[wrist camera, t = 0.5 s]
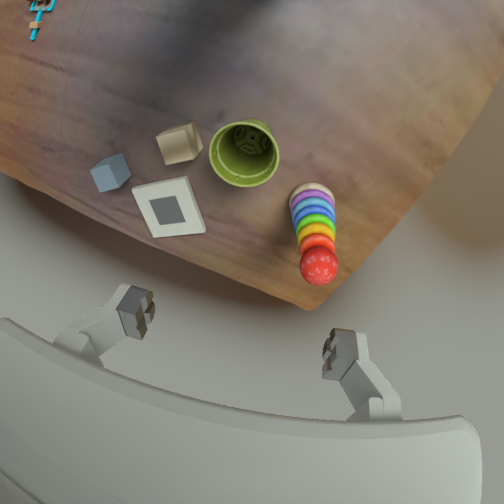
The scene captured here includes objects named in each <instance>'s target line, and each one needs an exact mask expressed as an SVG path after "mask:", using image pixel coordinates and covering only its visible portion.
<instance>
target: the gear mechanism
mask: <svg viewBox="0 0 504 504" xmlns="http://www.w3.org/2000/svg"><path fill="white" fill-rule="evenodd" d="M27 1H32V0H27ZM36 1H37V2H36ZM40 1H41V0H33V2H32V5H31V11H38V13H37V17H36V20H35V21H34V22H30V26H29V28H33V31H32V35H31V39H32V40H34V39H35V38H36V34H37V31H38V28H41V25H42V22H40V20H41V17H42V14H43V11H52V10H53V9H54V6H55V4H56V1H57V0H51V3H50V4H49V5H47V4H46V3H47V1H48V0H43V4H41V5H39V2H40ZM35 4H36V5H35Z"/></svg>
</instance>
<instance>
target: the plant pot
mask: <svg viewBox="0 0 504 504" xmlns="http://www.w3.org/2000/svg"><path fill="white" fill-rule="evenodd" d="M239 129H241V131H240V133H239V136H237V132H238V130H239ZM251 136H254V139H252V138H251ZM267 138H268V139H269V140H268V144H267V145H265V143H266V140H267ZM245 148H248V149H250V150H253V151H247V150H245ZM209 159H210V163H211V165H212V167H213V169H214V171H215V172H216V173H217V175H218V176H219V177H220V178H222V179H223V180H224V181H226V182H228V183H229V184H232V185H235V186H239V187H253V186H257V185H260V184H262V183H264V182H266V181H267V180H268V179H270V178H271V177H272V175H273V174H274V173H275V171H276V169H277V167H278V163H279V150H278V146H277V144H276V142H275V140H274V138H273V137H272V133H271V131H270V129H269V127H268V126H267V125H266V124H265V123H264V122H262V121H260V120H257V119H247V120H244V121H242V122H234V123H230V124H228V125H226V126H224V127H222V128H221V129H220V130H218V131H217V132H216V134H215V135H214V136H213V138H212V140H211V143H210V146H209Z"/></svg>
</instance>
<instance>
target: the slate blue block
mask: <svg viewBox="0 0 504 504" xmlns="http://www.w3.org/2000/svg"><path fill="white" fill-rule="evenodd" d="M90 172H91V174H92V176H93V179H94V181H95V183H96V185H97V187H98V189H99V191H100V193H101V192H104V191H108V190H112V189H116V188H119V187H120V186H121V185H122V184H123V183H124V182H125V181H126V180H127V179H128V178H129V177H130V176H131V173H130V171H129V168H128V166H127V163H126V161H125V158H124V156H123V153H120V154H117V155H114V156H111V157H108V158H105V159H103V160H102V161H100V162H99V163H98V164H97V165H95V166H94V167H93V168H92V169H91V170H90Z"/></svg>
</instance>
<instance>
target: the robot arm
mask: <svg viewBox="0 0 504 504" xmlns="http://www.w3.org/2000/svg"><path fill="white" fill-rule="evenodd" d="M152 298H153V292H152V291H149V290H146V289H143V288H139V287H136V286H133V285H128V284H125V283H122V284H121V285H120V286H119V287H118V289H117V290H116V292H115V293H114V294H113V296H112V297H111V299H110V300H109V302H108V303H107V305H106V306H101V307H99V308H97V309H95V310H93V311H91V312H89V313H87V314H85V315H83V316H81V317H80V318H78V319H76V320H74V321H72V322H70V323H68V324H66V325H65V326H64V327H63V329H62V330H61V332H60V333H59V334H58V336H57V337H56V339H55V341H54V342H53V344H52V343H50V342H48V341H46V340H44V339H43V338H41V337H39V336H37V335H35V334H34V333H32V332H30V331H28V330H27V329H25V328H24V327H22V326H20V325H19V324H17V323H15V322H14V321H12V320H11V319H9V318H6V317H4V318H0V504H480V502H481V490H482V456H481V444H480V439H479V435H478V433H477V432H476V430H475V429H474V428H473V426H472V425H471V424H470V423H469V421H468V420H467V419H466V418H465V417H464V416H462V415H454V416H447V417H440V418H430V419H419V420H405V421H403V420H402V410H401V402H400V397H399V395H398V394H397V393H396V391H395V390H394V389H393V388H392V386H391V385H390V384H389V382H388V381H387V380H386V378H385V377H384V376H383V375H382V373H381V372H380V371H379V369H378V368H377V367H376V366H375V364H374V363H373V362H370V360H369V353H368V345H367V339H366V334H365V332H361V331H353V330H346V329H339V328H333V329H332V330H331V332H330V337H329V338H328V339H326V341H325V344H324V347H323V353H322V354H323V355H322V358H323V360H324V361H325V363H324V365H323V366H322V378H323V379H327V380H335V381H340V384H341V386H342V387H343V389H344V391H345V393H346V395H347V396H348V398H349V400H350V401H351V403H352V405H353V407H354V409H355V411H356V412H355V413H354V414H352V415H351V416H350V417H349V418H348V419H347V420H346V421H334V420H319V419H307V418H298V417H290V416H282V415H275V414H267V413H261V412H256V411H249V410H244V409H239V408H234V407H229V406H225V405H220V404H216V403H211V402H207V401H203V400H199V399H195V398H192V397H187V396H184V395H181V394H177V393H174V392H170V391H167V390H164V389H161V388H157V387H154V386H151V385H148V384H145V383H143V382H139V381H137V380H134V379H131V378H128V377H126V376H123V375H120V374H118V373H115V372H113V371H110V370H108V369H105V368H103V367H104V366H103V363H102V361H101V360H100V358H99V356H100V355H101V354H102V353H104V352H105V351H107V350H108V349H110V348H111V347H112V346H114V345H115V344H117V343H118V342H119V341H121V340H122V339H124V338H125V337H126V336H129V337H132V338H136V339H139V340H142V339H143V337H144V335H145V334H146V331H147V326H146V325H148V324H149V323H151V322H152V319H153V318H154V313H155V304H154V302H153V301H152Z"/></svg>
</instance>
